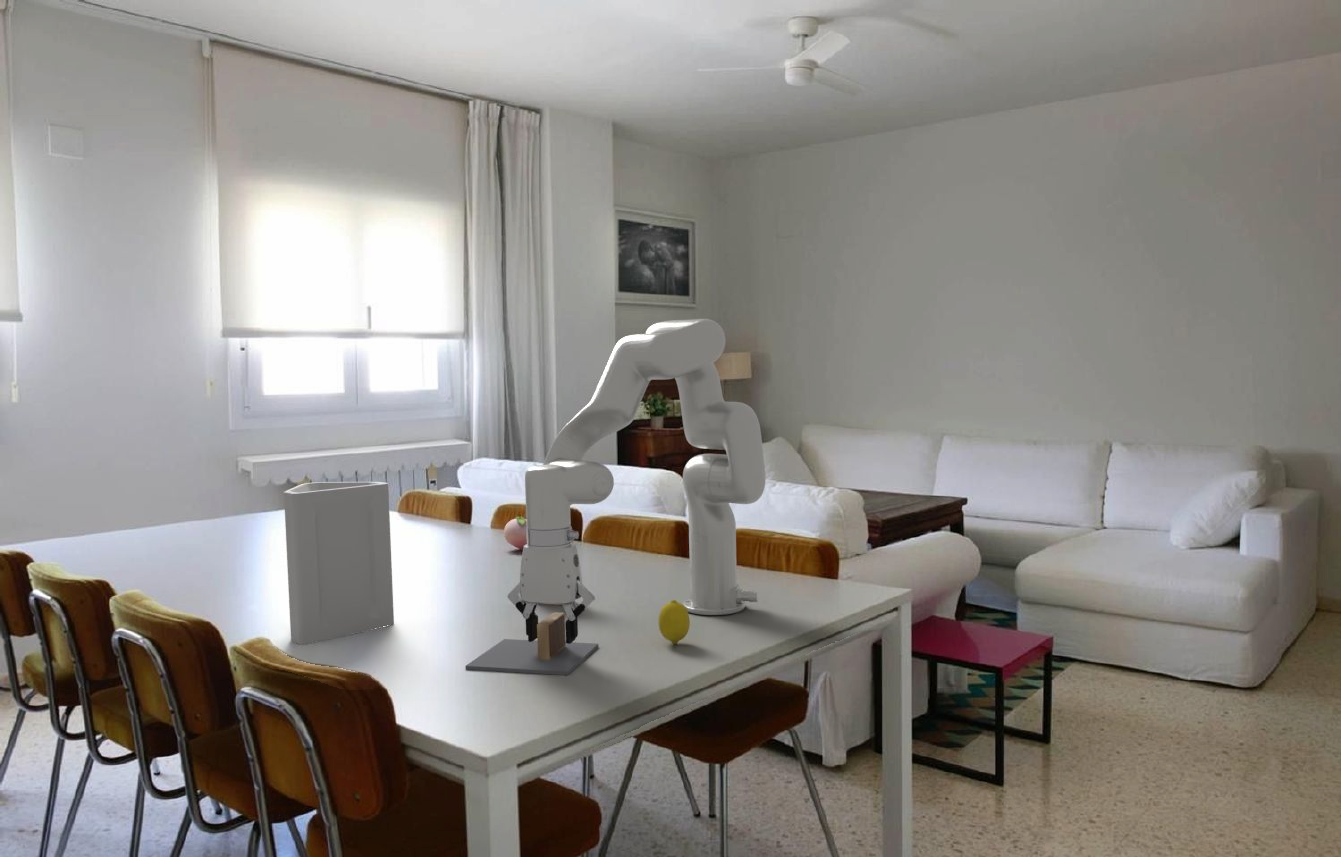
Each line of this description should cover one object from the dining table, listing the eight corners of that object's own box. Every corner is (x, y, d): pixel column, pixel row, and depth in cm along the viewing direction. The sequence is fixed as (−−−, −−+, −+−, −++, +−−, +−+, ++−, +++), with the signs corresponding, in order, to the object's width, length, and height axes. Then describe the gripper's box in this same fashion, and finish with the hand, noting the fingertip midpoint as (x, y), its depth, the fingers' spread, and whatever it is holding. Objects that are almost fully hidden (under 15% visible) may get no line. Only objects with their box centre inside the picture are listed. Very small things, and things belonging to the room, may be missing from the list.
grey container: (360, 611, 201) (354, 478, 200) (395, 624, 191) (389, 483, 189) (268, 630, 188) (261, 487, 186) (300, 645, 178) (293, 493, 176)
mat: (598, 646, 172) (598, 643, 172) (567, 675, 157) (567, 671, 157) (504, 642, 176) (504, 638, 176) (465, 669, 161) (465, 665, 161)
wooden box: (550, 659, 163) (566, 646, 171) (549, 624, 163) (565, 612, 170) (538, 659, 164) (554, 645, 171) (536, 624, 163) (553, 612, 171)
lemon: (689, 639, 176) (688, 595, 175) (690, 648, 170) (689, 603, 170) (658, 640, 176) (657, 596, 175) (659, 648, 170) (658, 604, 170)
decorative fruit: (500, 549, 268) (499, 513, 267) (529, 546, 271) (528, 510, 271) (510, 554, 260) (508, 517, 259) (539, 551, 263) (538, 515, 262)
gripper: (603, 534, 167) (606, 636, 168) (510, 532, 171) (514, 632, 172) (590, 542, 160) (593, 649, 161) (493, 540, 164) (496, 644, 165)
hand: (552, 639), depth 167 cm, fingers open, 6 cm apart
